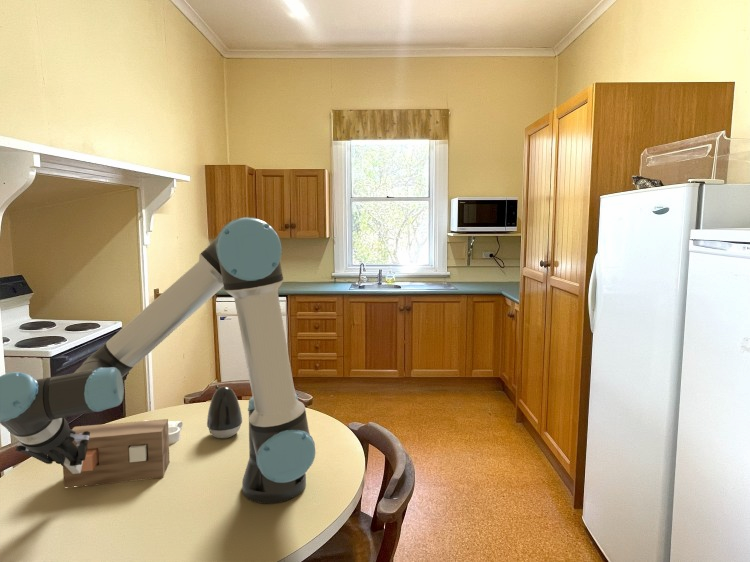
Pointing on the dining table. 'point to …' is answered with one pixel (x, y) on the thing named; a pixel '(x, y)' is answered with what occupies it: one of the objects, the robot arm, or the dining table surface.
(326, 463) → the dining table surface
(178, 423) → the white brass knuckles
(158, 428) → the key console
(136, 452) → the ivory key
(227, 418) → the black egg shaped device
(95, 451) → the terracotta key
